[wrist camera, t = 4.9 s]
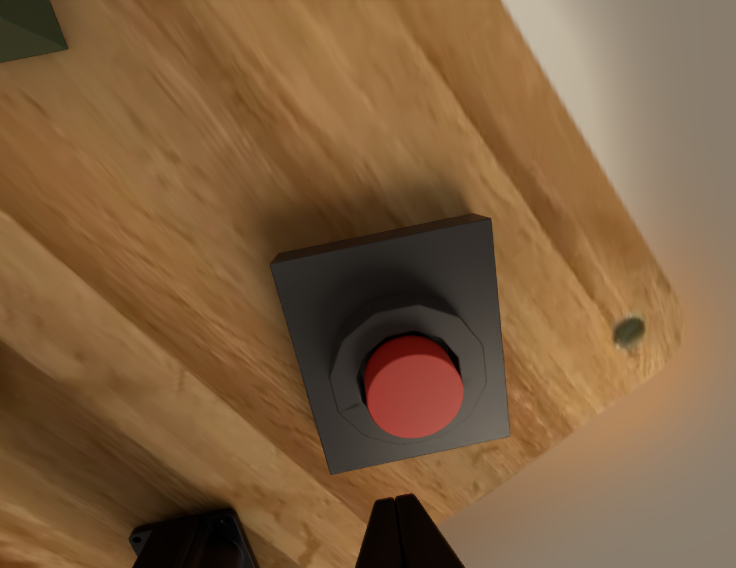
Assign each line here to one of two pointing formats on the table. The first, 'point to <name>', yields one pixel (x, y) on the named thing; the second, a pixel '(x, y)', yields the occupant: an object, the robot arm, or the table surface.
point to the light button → (412, 387)
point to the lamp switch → (396, 330)
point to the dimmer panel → (28, 29)
